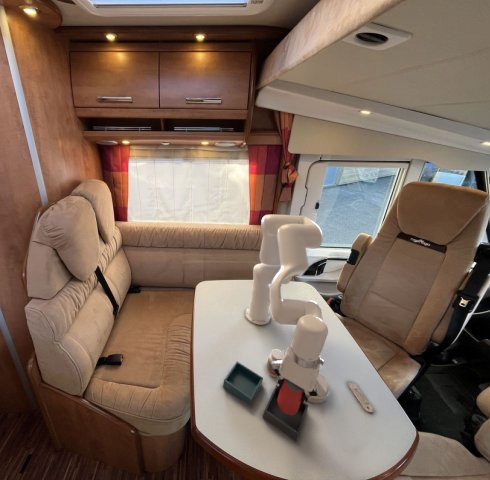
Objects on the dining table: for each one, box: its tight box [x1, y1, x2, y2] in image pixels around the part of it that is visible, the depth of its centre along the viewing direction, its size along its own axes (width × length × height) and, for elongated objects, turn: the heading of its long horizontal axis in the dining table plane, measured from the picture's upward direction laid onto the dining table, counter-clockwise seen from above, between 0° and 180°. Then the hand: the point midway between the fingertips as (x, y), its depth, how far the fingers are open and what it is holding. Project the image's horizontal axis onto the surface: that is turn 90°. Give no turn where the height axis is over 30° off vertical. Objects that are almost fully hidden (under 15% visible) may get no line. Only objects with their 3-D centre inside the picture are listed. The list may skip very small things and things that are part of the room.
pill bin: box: [222, 361, 264, 407], centre depth 89 cm, size 10×11×4 cm
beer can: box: [278, 378, 304, 415], centre depth 76 cm, size 7×7×12 cm
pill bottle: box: [266, 348, 285, 378], centre depth 93 cm, size 6×6×10 cm
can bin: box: [262, 384, 309, 443], centre depth 80 cm, size 11×11×4 cm
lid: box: [304, 371, 331, 404], centre depth 88 cm, size 13×13×5 cm
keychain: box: [348, 382, 374, 413], centre depth 86 cm, size 10×1×3 cm
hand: (291, 392), depth 75 cm, fingers closed on beer can, 6 cm apart
